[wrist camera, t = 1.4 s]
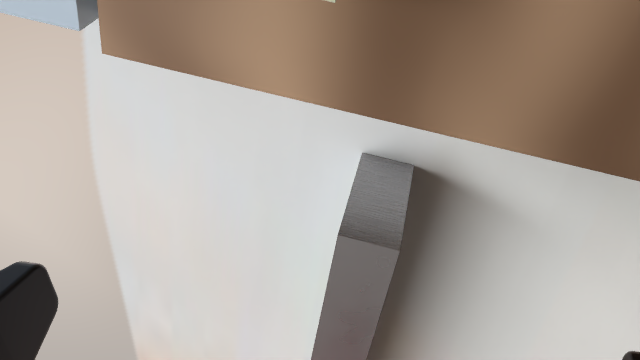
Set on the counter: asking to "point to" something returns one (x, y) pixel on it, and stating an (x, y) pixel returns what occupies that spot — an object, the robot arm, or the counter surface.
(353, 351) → the grey rectangular bar
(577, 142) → the wood-grain brown block
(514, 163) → the counter surface
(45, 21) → the box
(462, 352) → the counter surface
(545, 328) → the counter surface
